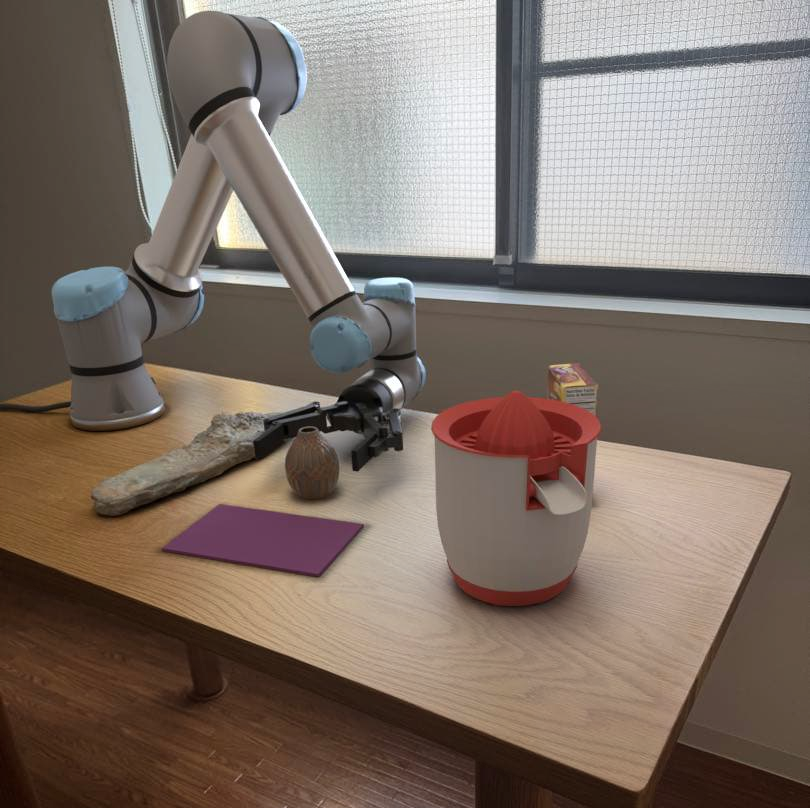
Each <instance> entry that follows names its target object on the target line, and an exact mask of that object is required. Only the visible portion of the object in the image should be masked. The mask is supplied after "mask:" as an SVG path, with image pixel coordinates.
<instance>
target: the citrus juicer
mask: <svg viewBox="0 0 810 808" xmlns="http://www.w3.org/2000/svg"><path fill="white" fill-rule="evenodd" d="M430 430H431V432H432V434H433V438H434V439H433V440H434V466H435V467H434V470H435V474H434V475H435V509H436V518H437V519H436V520H437V529H438V533H439V536H440V543H441V545H442V549H443V551H444V554H445V557H446V563H447V566H448V569H449V570H450V573H451V575H452V577H453V579H454V580H455V582H456V584H457V585H458V587H459V588H460V589H461V590H462V591H463V592H465V594H467V595H469V596H471V597H472V598H474V599H476V600H480V601H482V602H485V603H489V604H492V605H494V606H498V607H499V606H506V607H507V606H509V607H512V606H513V607H514V606H515V607H517V606H518V607H520V606H529V605H535V604H540V603H543V602H546V601H548V600H551V599H553V598H555V597H556V596H558V595H559V594H560V593H562V592H563V591H564V590H565V589H566V587H567V585H568V584H569V582H570V580H571V579H572V577H573V575H574V573H575V571H576V569H577V567H578V563H579V560H580V557H581V556H582V553H583V551H584V547H585V544H586V540H587V537H588V533H589V527H590V521H591V515H592V514H591V513H592V506H593V496H594V495H593V494H594V481H595V470H596V458H597V444H598V437H599V436H600V434H601V432H602V425H601V422H600V419H599V418H598V417H597V415H596V416H595V415H594V414H592V413H591V412H589V411H587V410H585V409H583V408H581V407H578V406H576V405H573V404H569V403H565V402H562V401H556V400H551V399H548V398H544V397H543V398H542V397H532V396H526V395H525V394H524V393H522V392H521V390H520V391H519V390H512V391H511V392H509V393H508V394H507V395H506V396H499V397H488V398H482V399H475V400H470V401H467V402H463V403H459V404H456V405H454V406H451V407H448V408H447V409H445V410H443V411H441V412H440V413H439V414H437V415H436V416H435V417H434V419H433V420H432V423H431V427H430Z"/></svg>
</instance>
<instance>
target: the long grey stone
mask: <svg viewBox="0 0 810 808" xmlns="http://www.w3.org/2000/svg"><path fill="white" fill-rule="evenodd" d="M282 413H283V412H269V413H261V412H256V411H247V412H244V411H239V412H237V413H235V414H228V415H227V413H226V412H221V413H219V414H216V415H214V416H213V417H212V419H211V421H210V423H211V425H210V426H208V427H207V428H206V429H205V430H203V431H201V432H199V433H198V434H196V435H195V436H194V438H193V440H192V441H190V443H188V444H186V445H183V446H182V447H180V448H176V449H172V450H169V451H168V452H166V453H163V454H161V455H158V456H155V457H154V458H152V459H150V460H149V461H146V462H143V463H140V464H138V465H136V466H134V467H132V468H130V469H126V470H123V471H121V472H120V473H118V474H116V475H114V476H112V477H107V478H105V479H101V480H99V483H98V484H97V485H96V486H95V487H94V488H93V490H92V491H91V492H90V498H91V500H92V504H93V507H94V510H95V511H96V512H97V514H101V515H103V516H107V517H108V516H111V517H117V516H120V515H125V514H126V513H128V512H130V511H131V510H133V509H136V508H138V507H140V506H142V505H147V504H150V503H152V502H154V501H156V500H158V499H162V498H165V497H167V496H169V495H171V494H176V493H179V492H183V491H185V490H186V489H187V488H188V487H190V486H196V485H197V484H199V483H200V484H201V483H204V482H206V481H207V480H209V479H214V478H215V477H217V476H221V475H222V474H223V473H224V472H225V471H227V470H228V469H230V468H232V467H234V466H236V465H238V464H241V463H244V462H249V461H250V460H252V459H254V458H256V457H255V451H254V444H253V440H255V439H256V438H257V437H259V436H260V435H261V434H262V433H263V432H265V430H264V422H263V419H266V418H269V417H272V416H275V415H278V414H282Z"/></svg>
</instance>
